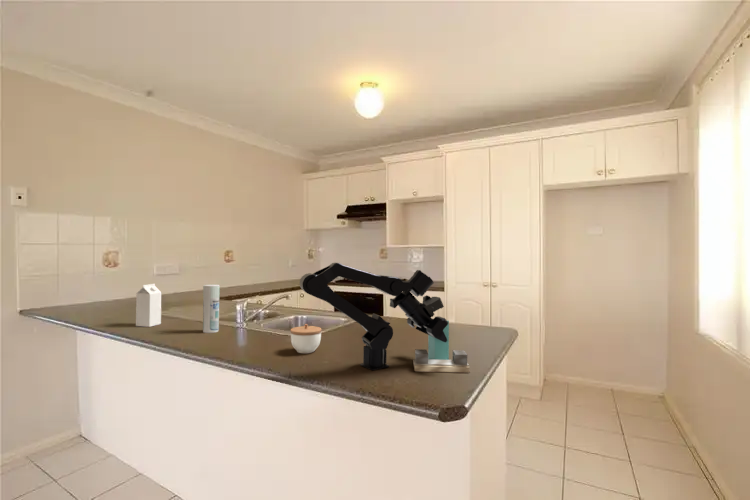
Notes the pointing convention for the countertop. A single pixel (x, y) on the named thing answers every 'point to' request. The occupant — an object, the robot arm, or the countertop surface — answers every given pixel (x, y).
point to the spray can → (211, 308)
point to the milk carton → (148, 306)
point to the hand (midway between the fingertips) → (442, 339)
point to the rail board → (441, 362)
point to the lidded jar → (305, 338)
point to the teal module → (439, 346)
